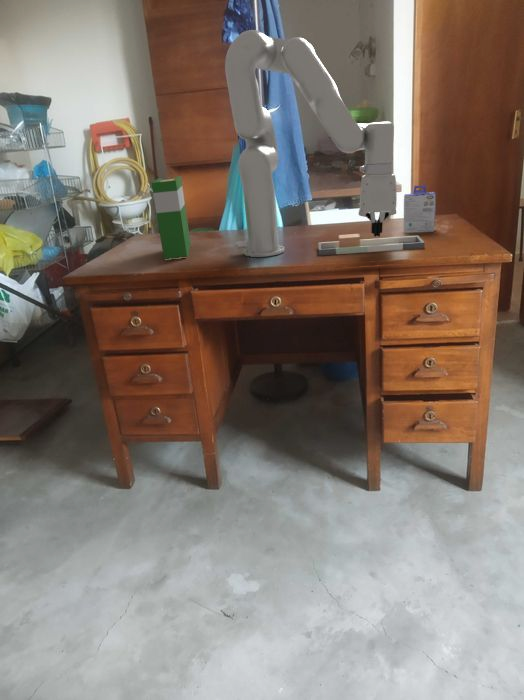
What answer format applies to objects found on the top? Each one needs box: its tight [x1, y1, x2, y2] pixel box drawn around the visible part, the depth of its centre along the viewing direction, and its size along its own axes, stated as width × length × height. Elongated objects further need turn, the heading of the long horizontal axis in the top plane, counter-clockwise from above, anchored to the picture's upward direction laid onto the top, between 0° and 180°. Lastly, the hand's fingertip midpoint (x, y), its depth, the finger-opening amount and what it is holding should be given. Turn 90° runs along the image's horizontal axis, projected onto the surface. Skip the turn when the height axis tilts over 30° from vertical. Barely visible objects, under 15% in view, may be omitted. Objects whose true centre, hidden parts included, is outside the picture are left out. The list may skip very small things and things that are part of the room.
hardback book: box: [150, 175, 192, 260], centre depth 169 cm, size 18×7×24 cm, turn 3°
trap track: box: [318, 235, 426, 256], centre depth 153 cm, size 30×10×2 cm, turn 84°
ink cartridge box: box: [403, 184, 437, 234], centre depth 168 cm, size 10×6×14 cm, turn 76°
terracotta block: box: [338, 233, 361, 248], centre depth 153 cm, size 6×5×4 cm
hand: (376, 235), depth 152 cm, fingers closed
